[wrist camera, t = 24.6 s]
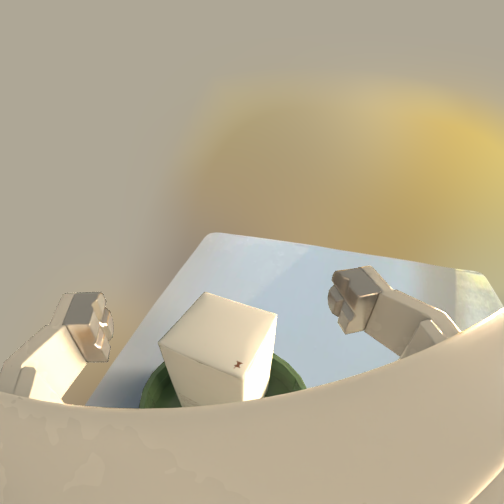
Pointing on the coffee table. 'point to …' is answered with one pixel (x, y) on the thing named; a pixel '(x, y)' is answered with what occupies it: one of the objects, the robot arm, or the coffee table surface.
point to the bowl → (164, 396)
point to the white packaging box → (219, 352)
